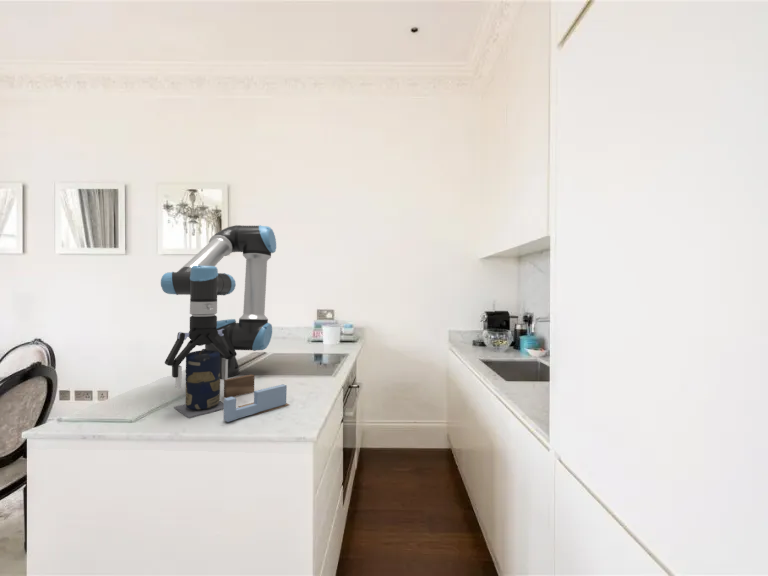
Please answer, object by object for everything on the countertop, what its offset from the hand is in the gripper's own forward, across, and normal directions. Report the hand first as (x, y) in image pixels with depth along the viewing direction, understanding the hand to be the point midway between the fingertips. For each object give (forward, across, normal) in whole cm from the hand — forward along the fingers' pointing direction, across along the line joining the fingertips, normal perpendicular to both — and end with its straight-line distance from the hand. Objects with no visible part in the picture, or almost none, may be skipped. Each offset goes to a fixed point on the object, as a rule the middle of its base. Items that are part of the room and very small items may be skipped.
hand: (202, 383), depth 106 cm
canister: (+8, 0, 0) cm, 8 cm away
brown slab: (+8, +14, -6) cm, 17 cm away
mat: (+8, 0, 0) cm, 8 cm away
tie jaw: (+7, +9, -16) cm, 20 cm away
